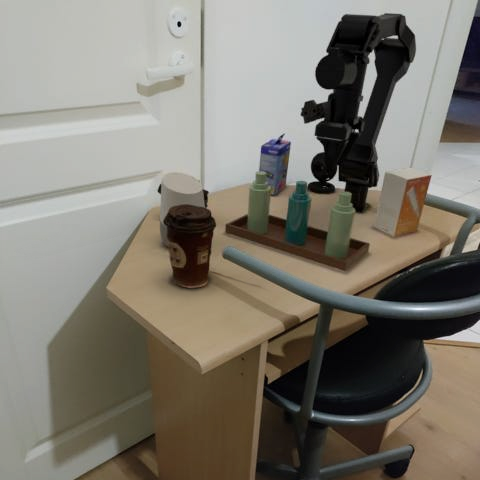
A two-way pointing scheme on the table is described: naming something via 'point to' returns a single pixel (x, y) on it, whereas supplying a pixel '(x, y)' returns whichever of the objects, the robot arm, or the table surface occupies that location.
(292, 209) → the teal bottle
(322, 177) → the webcam
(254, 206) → the sage bottle
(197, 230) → the coffee cup
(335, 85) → the robot arm
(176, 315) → the table surface
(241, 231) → the tray
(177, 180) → the smart speaker
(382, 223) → the small box
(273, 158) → the ink cartridge box
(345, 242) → the sage bottle
